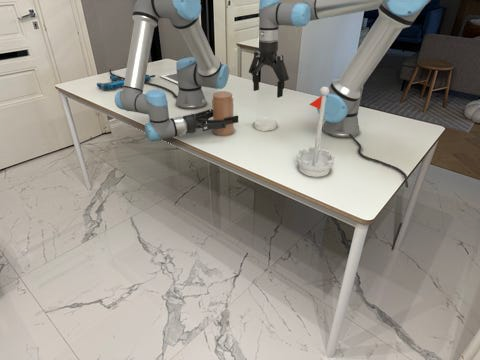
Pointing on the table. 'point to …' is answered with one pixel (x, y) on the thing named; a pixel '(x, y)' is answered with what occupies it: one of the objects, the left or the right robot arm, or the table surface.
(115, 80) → the submachine gun
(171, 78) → the tablet
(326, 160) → the flag stand
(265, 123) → the lid
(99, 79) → the table surface
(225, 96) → the jar
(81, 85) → the table surface
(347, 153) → the table surface
